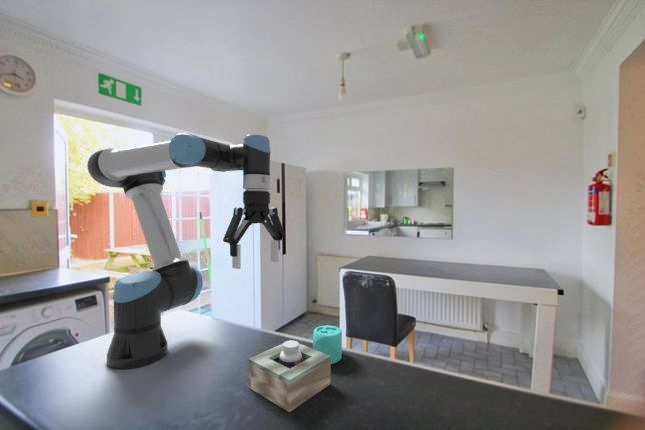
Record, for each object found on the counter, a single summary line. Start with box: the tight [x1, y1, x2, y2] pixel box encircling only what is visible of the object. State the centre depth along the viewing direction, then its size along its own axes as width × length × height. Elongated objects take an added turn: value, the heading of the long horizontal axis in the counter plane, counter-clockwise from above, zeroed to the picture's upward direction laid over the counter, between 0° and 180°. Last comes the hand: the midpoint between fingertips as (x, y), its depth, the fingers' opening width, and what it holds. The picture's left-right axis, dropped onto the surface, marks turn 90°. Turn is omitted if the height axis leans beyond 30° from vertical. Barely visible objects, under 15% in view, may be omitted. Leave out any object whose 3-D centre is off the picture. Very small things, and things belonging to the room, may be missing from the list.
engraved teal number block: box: [312, 324, 343, 365], centre depth 90 cm, size 8×8×8 cm
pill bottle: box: [280, 340, 302, 369], centre depth 76 cm, size 5×5×10 cm
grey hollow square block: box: [248, 339, 332, 413], centre depth 76 cm, size 14×14×7 cm
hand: (256, 264), depth 90 cm, fingers open, 13 cm apart
